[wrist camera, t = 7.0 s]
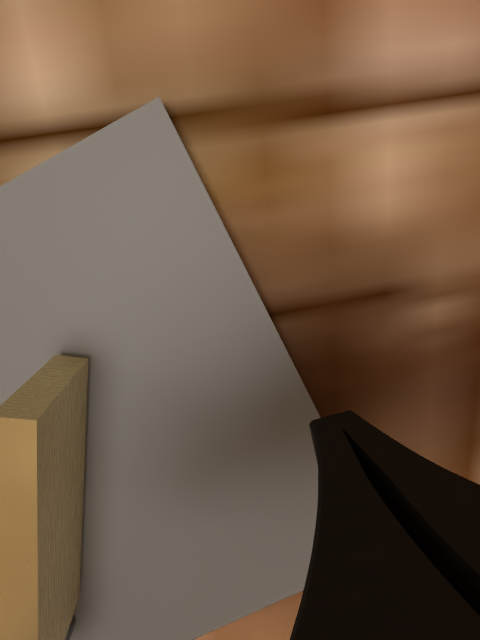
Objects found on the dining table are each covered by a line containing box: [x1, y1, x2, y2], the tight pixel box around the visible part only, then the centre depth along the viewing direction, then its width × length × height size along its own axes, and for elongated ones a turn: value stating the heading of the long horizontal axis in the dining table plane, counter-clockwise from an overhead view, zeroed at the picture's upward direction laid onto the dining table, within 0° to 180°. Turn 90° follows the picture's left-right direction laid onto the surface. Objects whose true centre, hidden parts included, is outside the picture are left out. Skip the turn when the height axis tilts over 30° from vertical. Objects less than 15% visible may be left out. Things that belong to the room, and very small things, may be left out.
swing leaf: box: [0, 355, 88, 640], centre depth 11 cm, size 3×13×4 cm, turn 171°
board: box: [0, 97, 321, 640], centre depth 13 cm, size 19×19×1 cm
